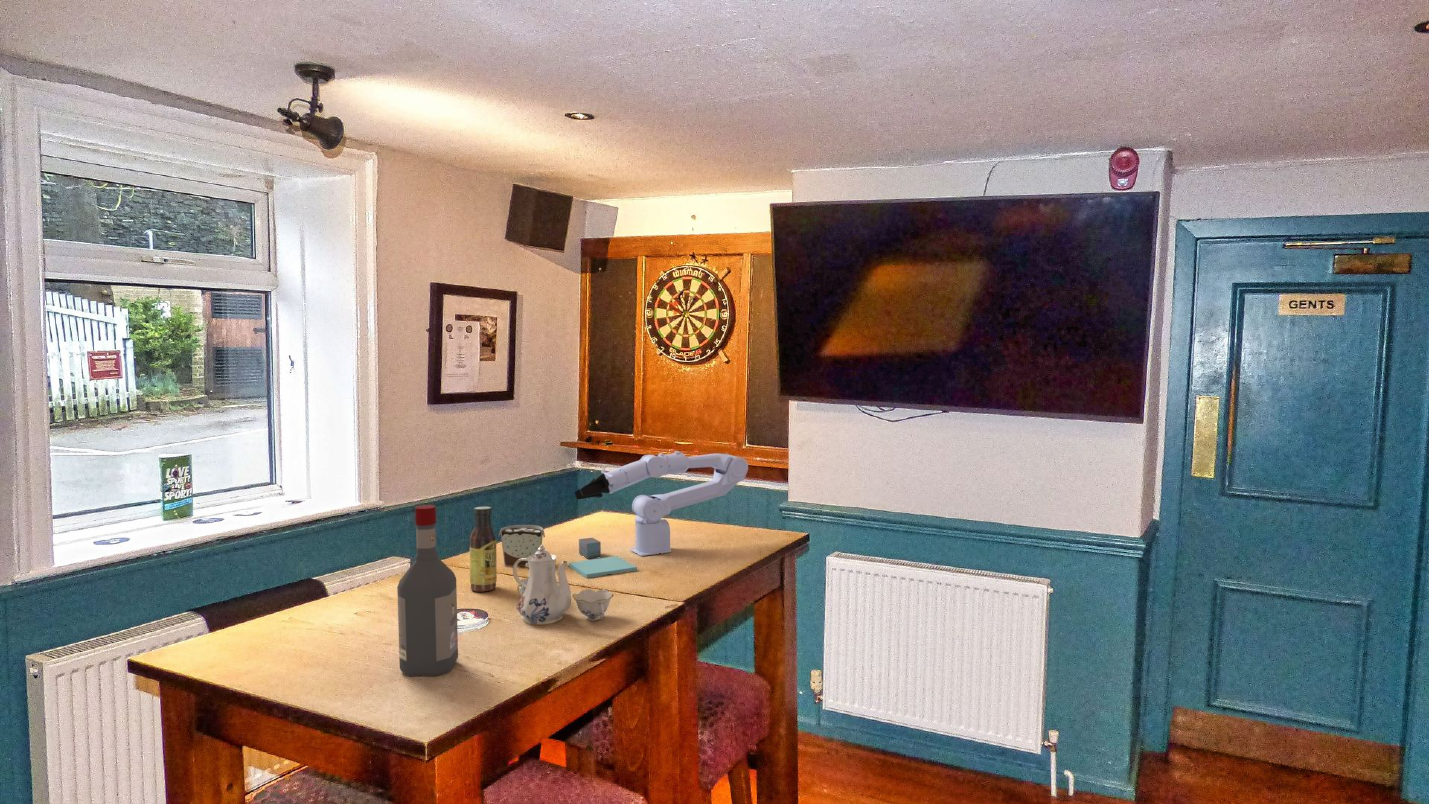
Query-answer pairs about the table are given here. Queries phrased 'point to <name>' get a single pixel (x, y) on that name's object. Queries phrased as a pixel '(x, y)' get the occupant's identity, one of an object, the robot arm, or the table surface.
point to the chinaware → (553, 592)
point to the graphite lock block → (589, 548)
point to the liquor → (427, 606)
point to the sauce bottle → (483, 552)
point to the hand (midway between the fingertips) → (578, 494)
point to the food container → (520, 542)
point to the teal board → (602, 566)
